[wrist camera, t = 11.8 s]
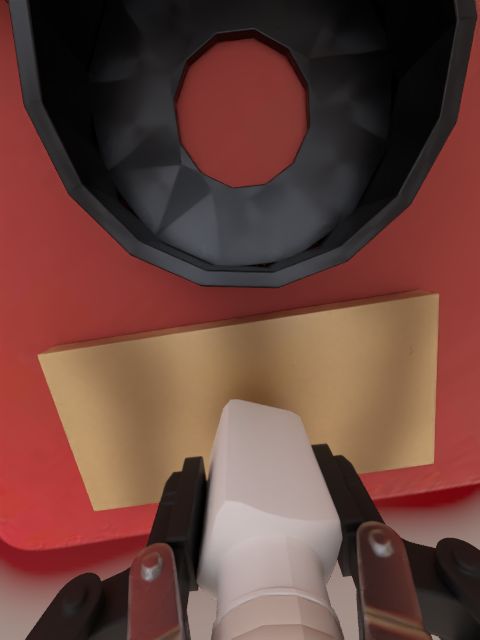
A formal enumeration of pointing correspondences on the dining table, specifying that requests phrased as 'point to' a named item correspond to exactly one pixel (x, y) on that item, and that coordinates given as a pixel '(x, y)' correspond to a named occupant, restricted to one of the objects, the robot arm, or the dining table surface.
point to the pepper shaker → (267, 530)
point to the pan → (312, 157)
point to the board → (250, 389)
